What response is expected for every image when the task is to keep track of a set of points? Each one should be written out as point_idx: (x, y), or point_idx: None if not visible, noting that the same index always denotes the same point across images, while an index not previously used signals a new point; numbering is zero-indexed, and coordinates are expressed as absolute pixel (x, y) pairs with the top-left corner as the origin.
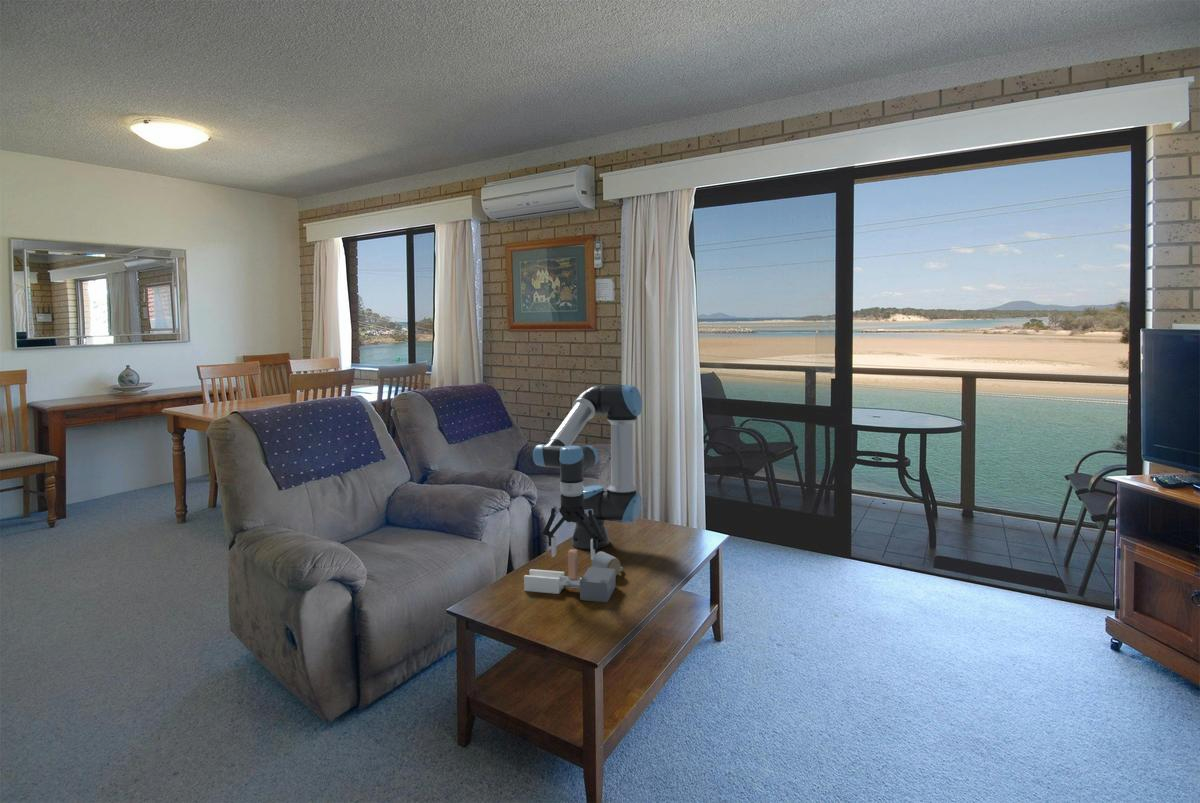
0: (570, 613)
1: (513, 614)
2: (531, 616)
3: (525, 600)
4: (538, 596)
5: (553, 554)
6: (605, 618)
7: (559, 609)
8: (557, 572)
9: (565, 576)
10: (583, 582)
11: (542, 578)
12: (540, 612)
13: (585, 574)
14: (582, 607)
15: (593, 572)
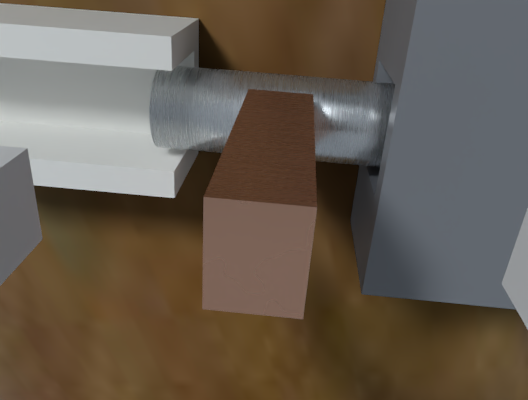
0: (322, 358)
1: (61, 379)
2: (148, 390)
3: (41, 251)
4: (88, 198)
5: (23, 256)
6: (503, 389)
7: (257, 327)
8: (115, 61)
9: (209, 119)
10: (391, 291)
11: (45, 184)
12: (174, 357)
13: (396, 165)
14: (376, 300)
15: (473, 111)
